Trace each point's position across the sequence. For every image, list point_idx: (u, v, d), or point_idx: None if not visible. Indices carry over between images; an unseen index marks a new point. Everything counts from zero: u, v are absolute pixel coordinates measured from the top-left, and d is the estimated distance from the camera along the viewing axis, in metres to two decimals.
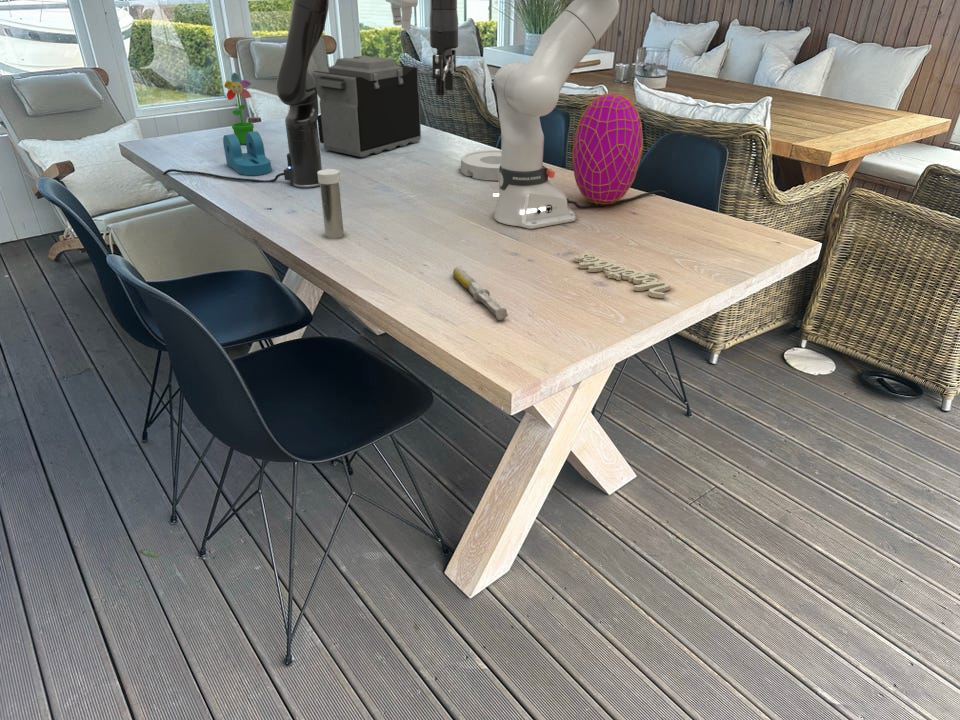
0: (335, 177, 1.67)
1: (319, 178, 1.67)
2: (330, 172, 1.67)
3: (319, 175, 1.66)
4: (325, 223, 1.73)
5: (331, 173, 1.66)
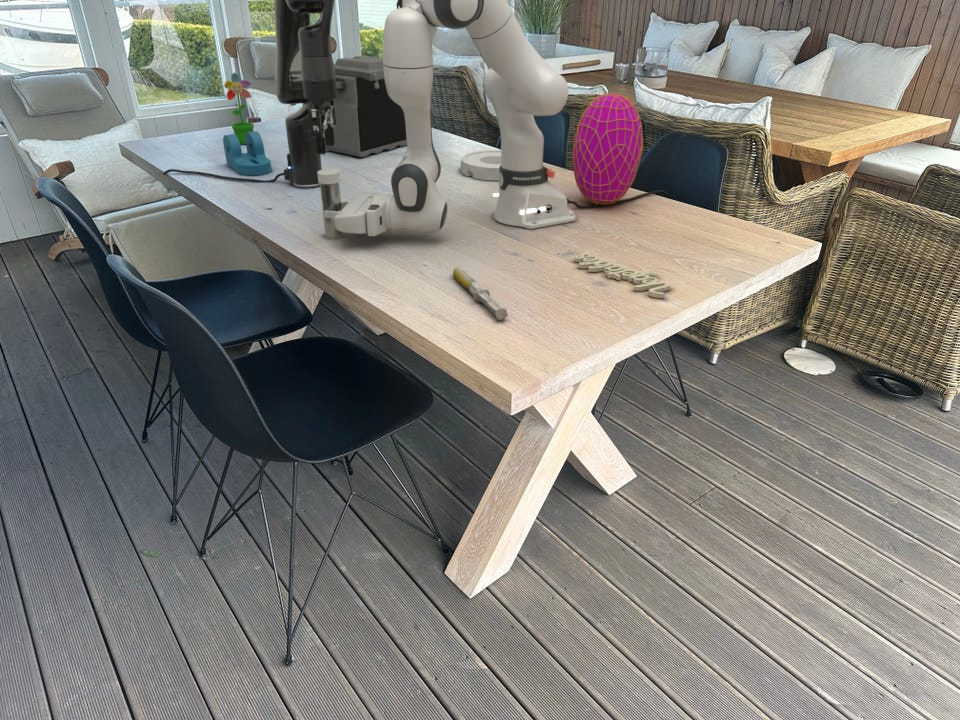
0: (335, 177, 1.67)
1: (319, 178, 1.67)
2: (330, 172, 1.67)
3: (319, 175, 1.66)
4: (325, 223, 1.73)
5: (331, 173, 1.66)
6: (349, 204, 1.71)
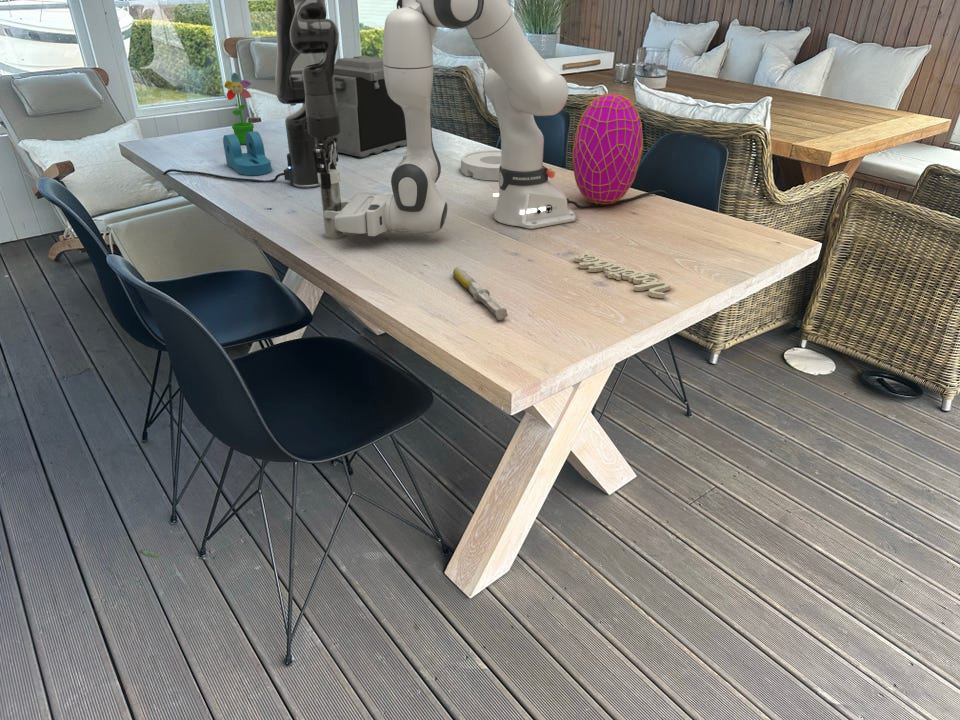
0: (335, 177, 1.67)
1: (319, 178, 1.67)
2: (330, 172, 1.67)
3: (319, 175, 1.66)
4: (325, 223, 1.73)
5: (331, 173, 1.66)
6: (349, 204, 1.71)
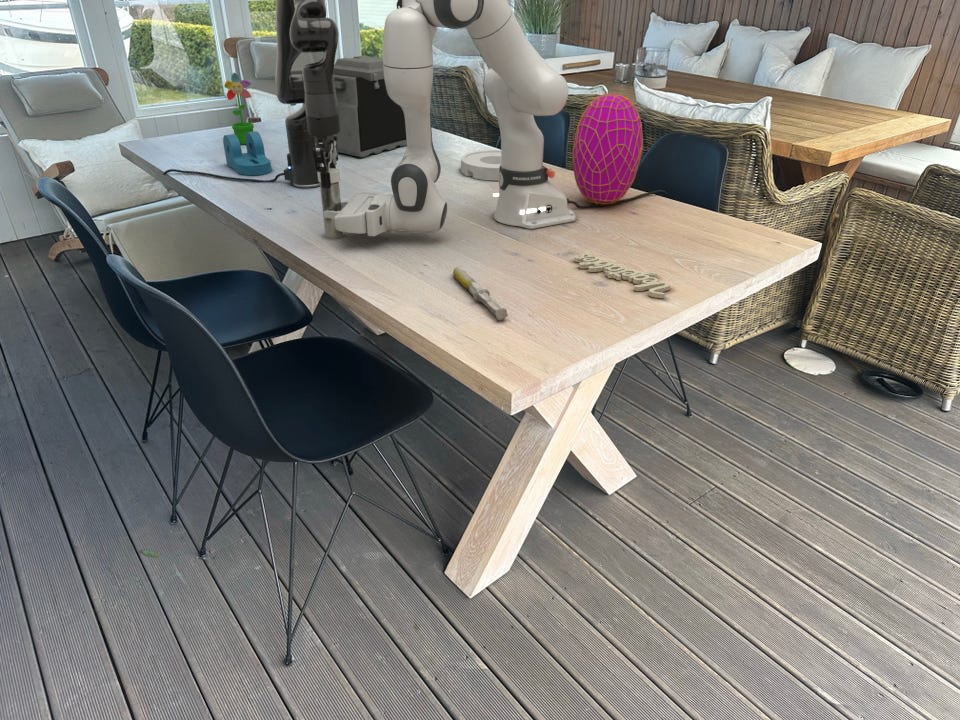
0: None
1: (330, 178, 1.66)
2: (331, 170, 1.68)
3: (331, 175, 1.66)
4: (325, 223, 1.73)
5: (335, 170, 1.68)
6: (349, 204, 1.71)
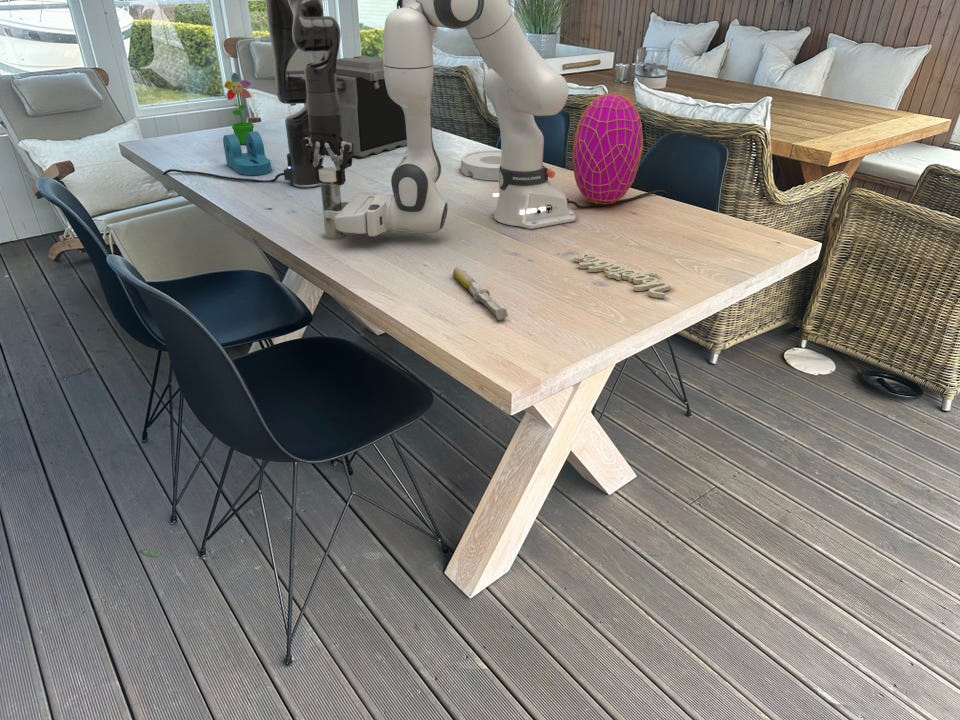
0: None
1: None
2: (329, 168, 1.68)
3: None
4: (325, 223, 1.73)
5: (331, 167, 1.69)
6: (349, 204, 1.71)
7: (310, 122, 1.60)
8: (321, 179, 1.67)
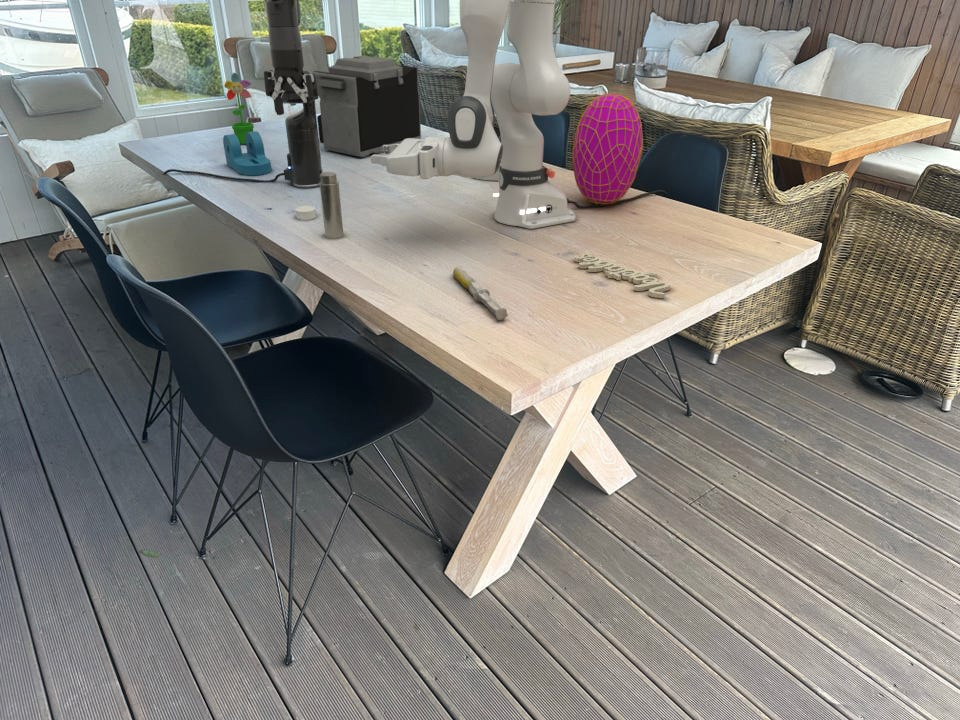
0: None
1: (315, 212, 1.88)
2: (305, 207, 1.88)
3: None
4: (325, 223, 1.73)
5: (307, 206, 1.88)
6: (399, 147, 1.62)
7: (272, 57, 1.65)
8: (298, 217, 1.86)
